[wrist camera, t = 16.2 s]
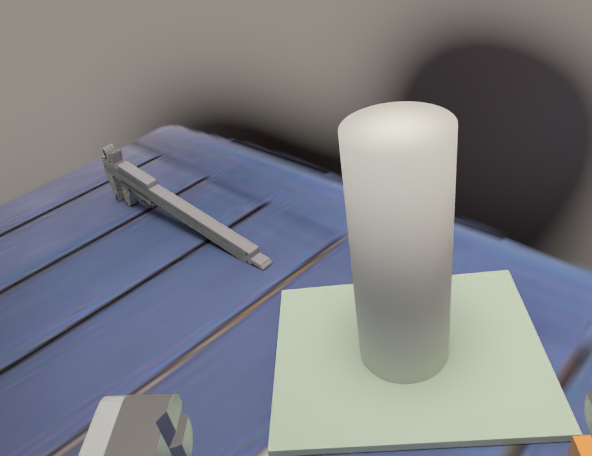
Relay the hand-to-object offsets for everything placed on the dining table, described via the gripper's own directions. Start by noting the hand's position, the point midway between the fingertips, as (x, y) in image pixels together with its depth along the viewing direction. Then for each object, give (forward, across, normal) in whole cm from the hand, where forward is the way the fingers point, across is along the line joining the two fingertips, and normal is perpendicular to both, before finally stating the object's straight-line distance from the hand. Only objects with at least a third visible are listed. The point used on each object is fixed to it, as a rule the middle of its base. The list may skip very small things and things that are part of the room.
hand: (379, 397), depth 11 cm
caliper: (+30, +14, +17) cm, 37 cm away
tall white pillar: (+14, -2, +15) cm, 21 cm away
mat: (+14, -2, +16) cm, 21 cm away
